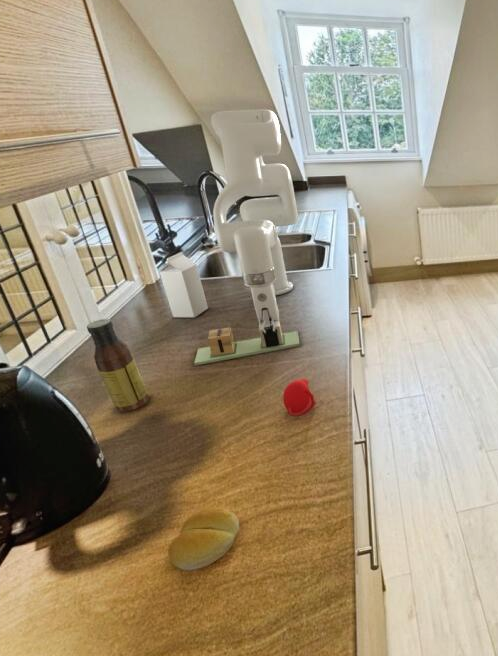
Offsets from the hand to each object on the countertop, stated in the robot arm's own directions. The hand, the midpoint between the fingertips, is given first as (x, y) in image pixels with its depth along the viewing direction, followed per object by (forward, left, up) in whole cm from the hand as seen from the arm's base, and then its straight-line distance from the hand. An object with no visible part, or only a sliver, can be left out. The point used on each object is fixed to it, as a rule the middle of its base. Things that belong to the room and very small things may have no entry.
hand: (272, 340), depth 120 cm
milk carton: (-33, -24, -1) cm, 41 cm away
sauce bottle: (+17, -29, -1) cm, 34 cm away
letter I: (0, -12, 0) cm, 12 cm away
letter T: (0, 0, 0) cm, 0 cm away
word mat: (0, -6, -1) cm, 6 cm away
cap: (+33, +5, -1) cm, 33 cm away
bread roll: (+61, -10, -1) cm, 62 cm away
